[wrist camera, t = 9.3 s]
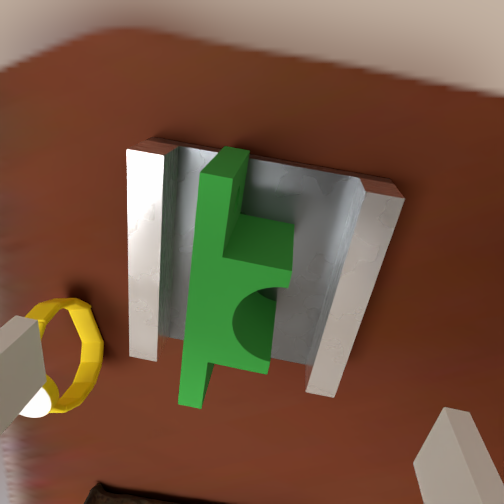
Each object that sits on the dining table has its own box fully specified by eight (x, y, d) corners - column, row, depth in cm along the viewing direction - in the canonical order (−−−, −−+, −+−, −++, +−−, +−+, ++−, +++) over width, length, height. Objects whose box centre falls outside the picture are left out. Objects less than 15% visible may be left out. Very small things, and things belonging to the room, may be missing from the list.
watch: (53, 283, 22) (-29, 343, 17) (96, 280, 22) (25, 342, 16) (82, 364, 24) (18, 440, 19) (121, 363, 24) (67, 442, 18)
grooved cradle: (389, 178, 17) (405, 198, 14) (330, 359, 22) (334, 397, 19) (152, 136, 17) (127, 149, 15) (149, 323, 22) (129, 356, 20)
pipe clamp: (265, 352, 21) (255, 421, 17) (201, 339, 21) (177, 404, 17) (309, 160, 16) (311, 195, 12) (224, 144, 16) (197, 172, 12)
